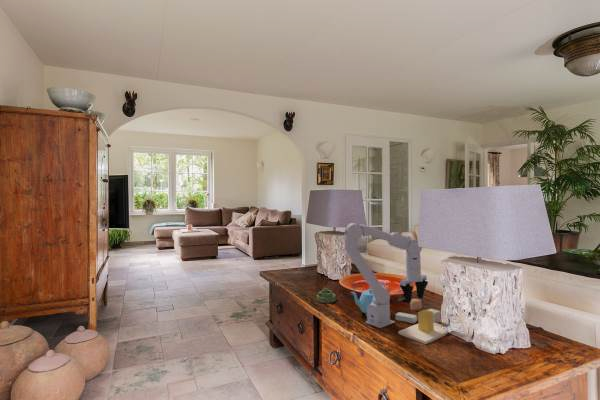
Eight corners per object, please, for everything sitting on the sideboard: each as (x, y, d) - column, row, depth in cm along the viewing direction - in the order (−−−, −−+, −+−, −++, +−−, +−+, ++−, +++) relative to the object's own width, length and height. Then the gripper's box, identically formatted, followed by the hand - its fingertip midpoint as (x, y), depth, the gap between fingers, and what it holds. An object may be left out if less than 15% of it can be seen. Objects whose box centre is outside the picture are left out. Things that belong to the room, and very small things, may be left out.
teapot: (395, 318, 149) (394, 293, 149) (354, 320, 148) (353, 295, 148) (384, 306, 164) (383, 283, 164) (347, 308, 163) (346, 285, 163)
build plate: (394, 302, 171) (393, 293, 171) (395, 298, 178) (395, 289, 177) (420, 304, 166) (420, 295, 166) (420, 300, 173) (420, 291, 173)
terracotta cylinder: (417, 311, 156) (417, 302, 156) (408, 308, 160) (407, 300, 160) (423, 308, 159) (423, 300, 159) (414, 306, 163) (414, 298, 163)
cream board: (425, 344, 122) (425, 341, 122) (398, 333, 132) (398, 331, 132) (453, 331, 133) (453, 328, 133) (426, 322, 142) (426, 320, 142)
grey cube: (434, 324, 140) (434, 313, 140) (424, 321, 144) (424, 310, 144) (440, 321, 143) (440, 311, 143) (431, 318, 146) (430, 308, 146)
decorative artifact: (321, 304, 171) (339, 301, 175) (321, 290, 171) (338, 287, 175) (313, 299, 181) (330, 296, 184) (313, 285, 181) (330, 283, 184)
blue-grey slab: (417, 321, 145) (417, 315, 145) (414, 324, 142) (413, 318, 142) (399, 317, 150) (398, 312, 150) (395, 320, 147) (395, 314, 147)
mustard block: (427, 333, 129) (427, 314, 129) (418, 329, 133) (417, 311, 133) (433, 330, 132) (433, 312, 132) (424, 327, 135) (424, 309, 135)
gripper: (410, 271, 135) (411, 305, 136) (432, 266, 144) (433, 298, 144) (396, 269, 141) (397, 301, 142) (418, 263, 149) (419, 294, 150)
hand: (414, 299), depth 143 cm, fingers open, 7 cm apart
